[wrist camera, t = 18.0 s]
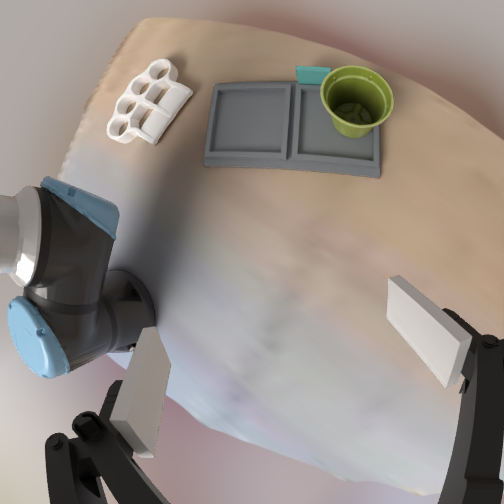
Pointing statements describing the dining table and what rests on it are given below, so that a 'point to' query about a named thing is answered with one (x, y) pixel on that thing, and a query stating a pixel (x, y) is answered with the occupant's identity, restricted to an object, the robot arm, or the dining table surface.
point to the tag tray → (285, 129)
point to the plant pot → (356, 99)
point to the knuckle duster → (149, 104)
